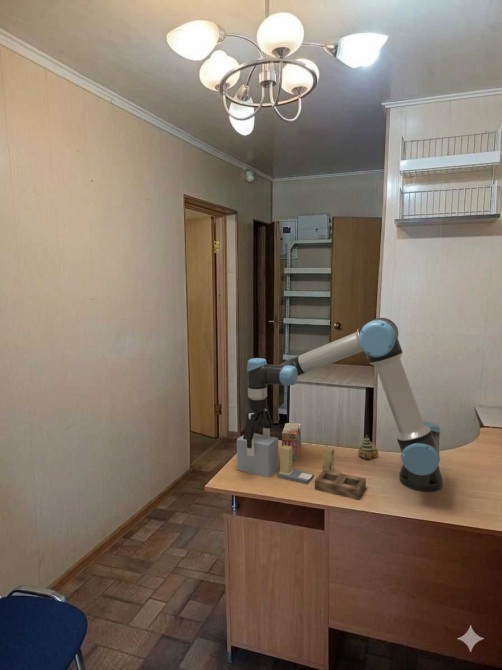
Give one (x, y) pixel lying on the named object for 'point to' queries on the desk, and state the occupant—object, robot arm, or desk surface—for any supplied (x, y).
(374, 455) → the ornament
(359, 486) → the socket board
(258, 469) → the block
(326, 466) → the brass pin
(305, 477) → the board
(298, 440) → the stack of blocks
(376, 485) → the desk surface
